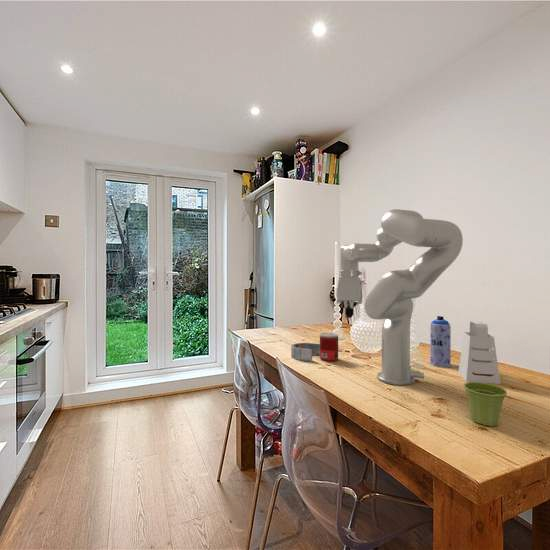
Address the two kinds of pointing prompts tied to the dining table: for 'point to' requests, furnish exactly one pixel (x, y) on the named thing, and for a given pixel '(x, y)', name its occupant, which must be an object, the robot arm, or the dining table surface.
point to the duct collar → (304, 351)
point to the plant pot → (485, 402)
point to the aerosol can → (440, 343)
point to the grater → (478, 355)
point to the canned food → (329, 347)
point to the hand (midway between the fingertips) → (349, 317)
